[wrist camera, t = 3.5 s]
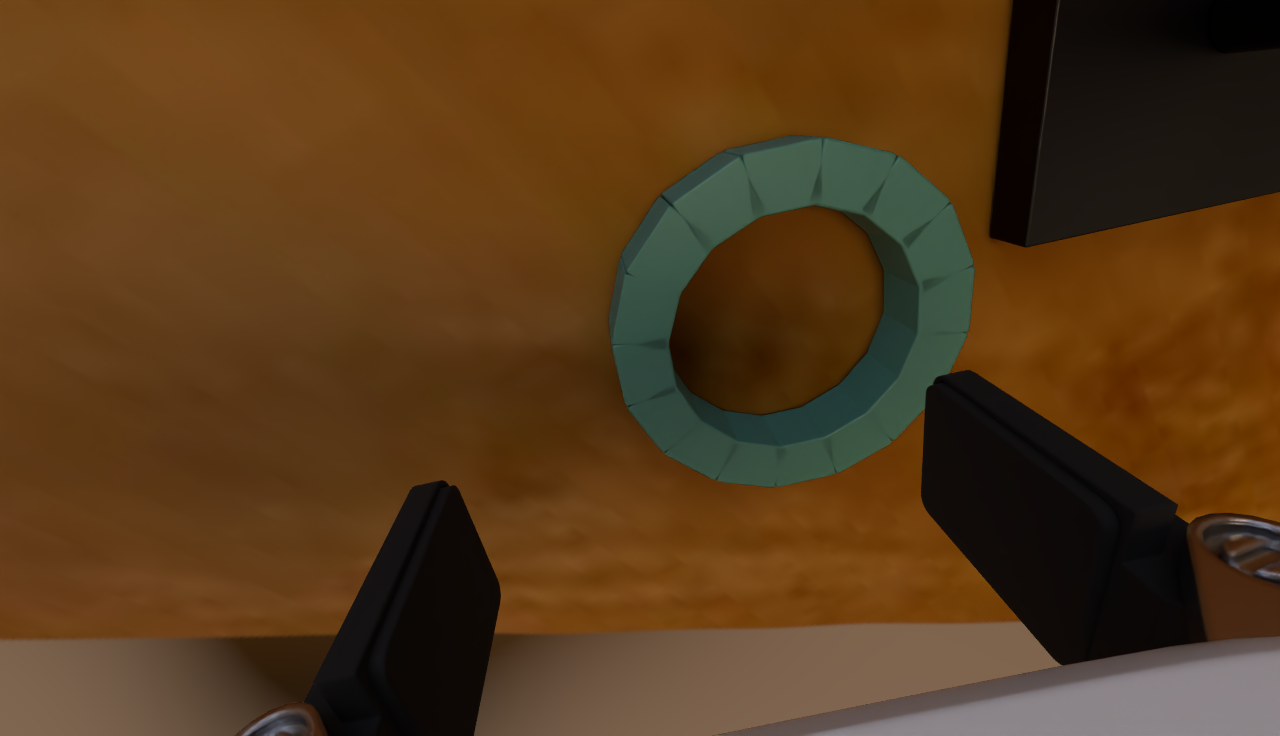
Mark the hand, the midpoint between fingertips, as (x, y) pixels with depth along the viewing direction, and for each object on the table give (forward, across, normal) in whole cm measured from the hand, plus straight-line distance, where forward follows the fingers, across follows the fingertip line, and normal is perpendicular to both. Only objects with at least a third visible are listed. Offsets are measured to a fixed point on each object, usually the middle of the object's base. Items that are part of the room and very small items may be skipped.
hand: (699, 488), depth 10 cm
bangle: (+7, -4, 0) cm, 8 cm away
